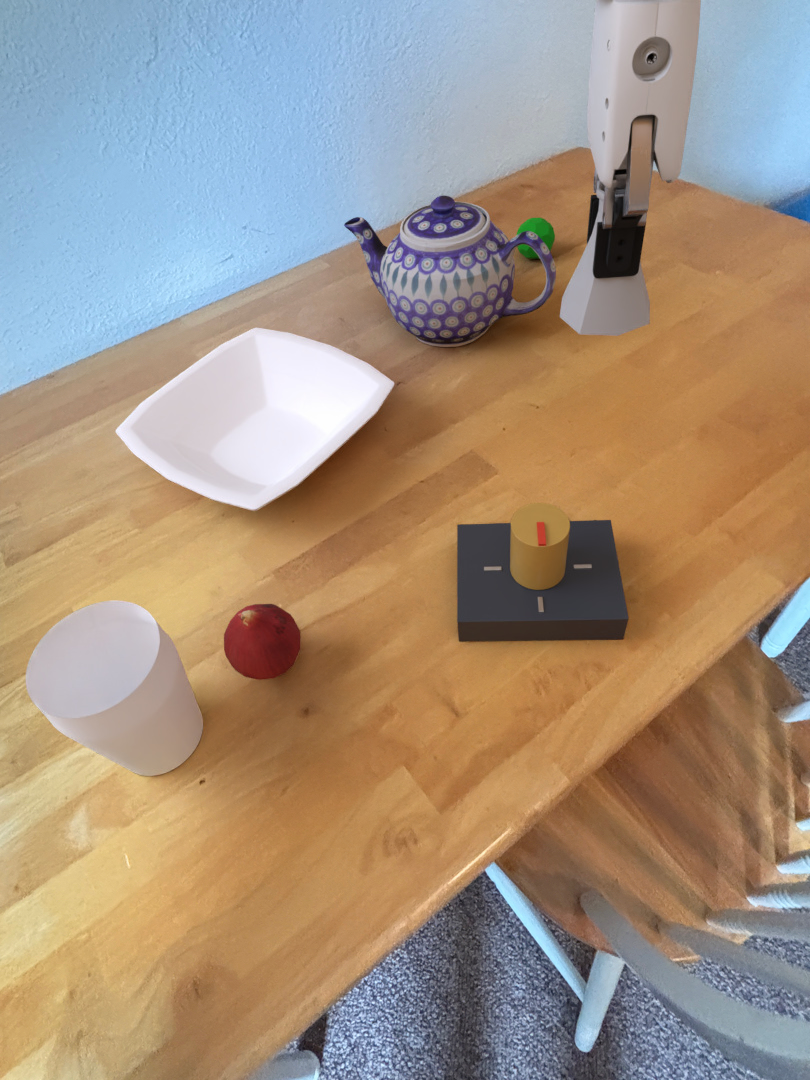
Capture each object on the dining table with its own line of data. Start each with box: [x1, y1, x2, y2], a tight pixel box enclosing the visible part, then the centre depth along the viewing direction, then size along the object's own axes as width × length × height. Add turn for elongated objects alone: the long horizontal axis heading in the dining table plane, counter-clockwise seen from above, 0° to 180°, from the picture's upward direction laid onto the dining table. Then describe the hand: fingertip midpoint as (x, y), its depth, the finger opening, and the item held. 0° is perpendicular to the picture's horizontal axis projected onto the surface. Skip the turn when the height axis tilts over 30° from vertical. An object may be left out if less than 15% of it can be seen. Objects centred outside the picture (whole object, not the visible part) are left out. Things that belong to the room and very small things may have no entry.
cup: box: [25, 599, 204, 777], centre depth 50 cm, size 9×9×12 cm
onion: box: [223, 603, 302, 681], centre depth 55 cm, size 6×6×8 cm
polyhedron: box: [515, 217, 556, 260], centre depth 92 cm, size 5×5×5 cm
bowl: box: [115, 327, 395, 512], centre depth 73 cm, size 22×23×6 cm
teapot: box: [343, 195, 557, 348], centre depth 80 cm, size 25×15×15 cm, turn 63°
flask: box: [559, 180, 651, 337], centre depth 53 cm, size 7×7×10 cm
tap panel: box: [456, 519, 630, 643], centre depth 59 cm, size 13×10×3 cm
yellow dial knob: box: [510, 502, 571, 590], centre depth 55 cm, size 4×4×6 cm
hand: (611, 258), depth 53 cm, fingers closed on flask, 3 cm apart
